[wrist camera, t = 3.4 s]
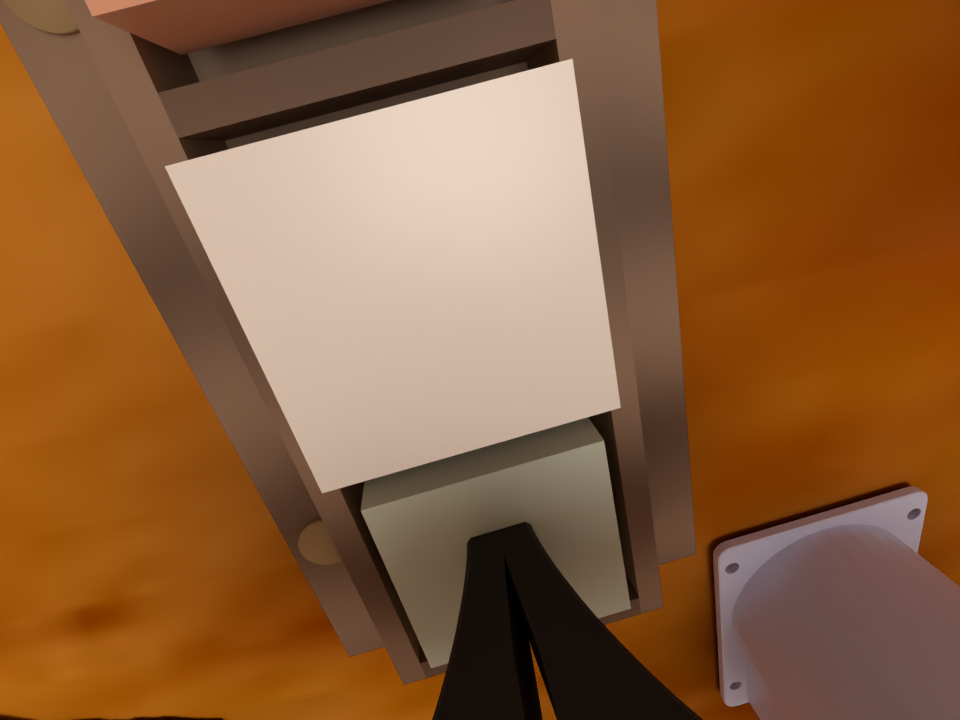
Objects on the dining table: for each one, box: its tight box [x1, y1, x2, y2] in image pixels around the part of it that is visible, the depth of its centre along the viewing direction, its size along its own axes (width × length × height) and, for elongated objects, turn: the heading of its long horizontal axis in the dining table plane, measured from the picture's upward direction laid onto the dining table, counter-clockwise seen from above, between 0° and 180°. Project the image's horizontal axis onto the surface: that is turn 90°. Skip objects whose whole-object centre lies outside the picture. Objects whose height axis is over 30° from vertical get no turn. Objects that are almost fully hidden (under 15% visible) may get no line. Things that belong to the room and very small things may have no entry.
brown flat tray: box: [0, 0, 696, 685], centre depth 10 cm, size 22×11×4 cm, turn 14°
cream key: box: [165, 59, 621, 493], centre depth 8 cm, size 5×5×2 cm
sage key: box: [361, 417, 631, 668], centre depth 12 cm, size 5×5×2 cm
